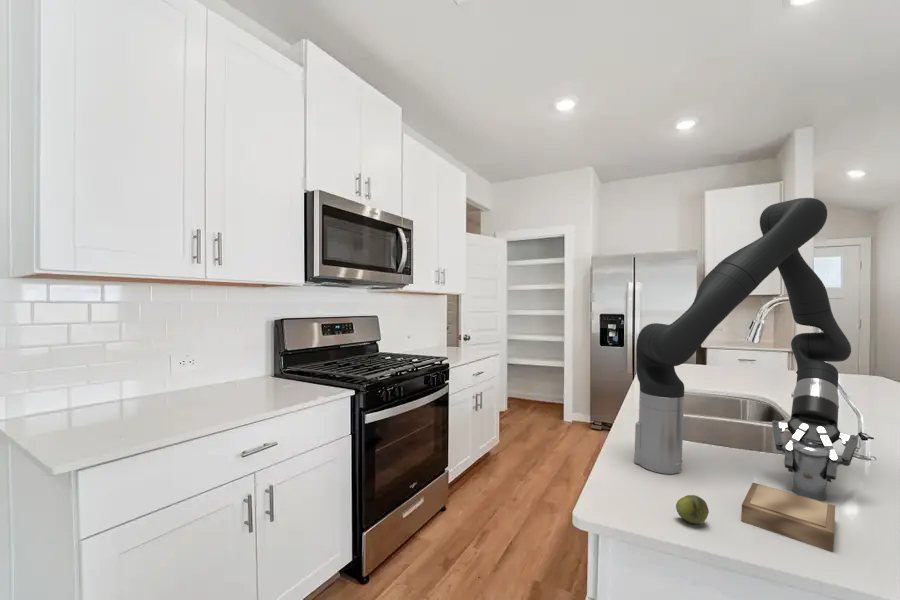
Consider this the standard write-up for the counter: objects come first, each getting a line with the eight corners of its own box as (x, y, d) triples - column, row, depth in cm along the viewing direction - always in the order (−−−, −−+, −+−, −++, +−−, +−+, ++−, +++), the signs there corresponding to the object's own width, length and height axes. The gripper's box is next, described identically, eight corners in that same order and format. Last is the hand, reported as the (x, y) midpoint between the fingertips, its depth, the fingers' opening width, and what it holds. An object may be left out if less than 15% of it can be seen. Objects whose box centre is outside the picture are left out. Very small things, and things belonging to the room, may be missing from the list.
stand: (741, 520, 73) (741, 502, 73) (752, 497, 82) (752, 481, 81) (833, 551, 65) (834, 531, 64) (834, 521, 73) (835, 504, 73)
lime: (671, 519, 73) (672, 491, 73) (690, 513, 75) (691, 486, 75) (695, 532, 69) (696, 503, 69) (714, 526, 71) (715, 498, 71)
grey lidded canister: (788, 494, 83) (790, 441, 83) (791, 484, 87) (793, 434, 87) (827, 505, 79) (830, 450, 79) (828, 494, 83) (830, 442, 83)
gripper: (772, 388, 93) (762, 454, 85) (862, 401, 83) (861, 478, 75) (774, 406, 97) (765, 472, 89) (860, 421, 87) (858, 496, 79)
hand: (809, 474), depth 82 cm, fingers closed on grey lidded canister, 5 cm apart
